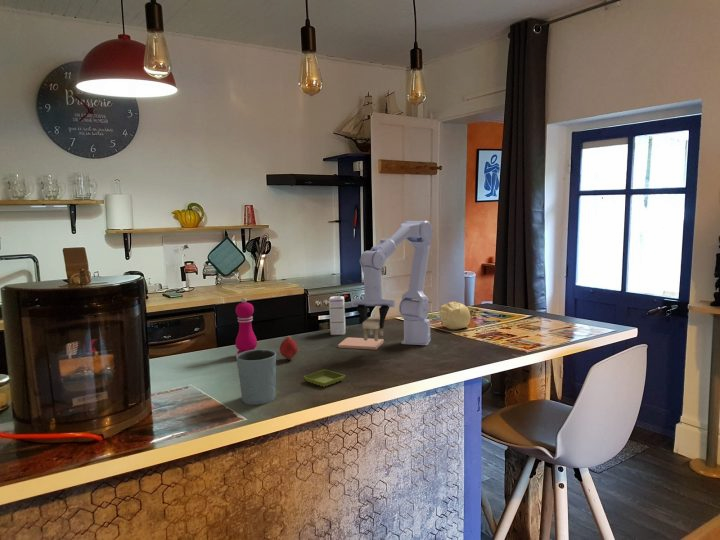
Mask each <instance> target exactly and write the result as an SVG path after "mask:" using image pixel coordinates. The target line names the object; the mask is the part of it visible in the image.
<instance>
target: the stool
mask: <svg viewBox="0 0 720 540" xmlns="http://www.w3.org/2000/svg"><path fill="white" fill-rule="evenodd" d="M362 329H363V338H364V340H368V339H367V338H368V330H369V336H373V335H374V338H373V339H374V341H378V339H379V336H380V337H383V336H384V327H383V328H382V329H381V328H380V316H369V317H367V319H366V320H365V321H364V322H362Z"/></svg>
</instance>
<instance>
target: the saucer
mask: <svg viewBox="0 0 720 540" xmlns="http://www.w3.org/2000/svg"><path fill="white" fill-rule="evenodd" d="M345 377H346V375H345V374H342V373H340V372H335V371H332V370H328V369H321V370H318V371H315V372H312V373H310V374H306V375H304V376H303V378H304V380H306V382H307V383H309V382H310V383H309V384H312V383H313V384H312V385H315V384H316V385H315V386H319V385H320V386H319V387H322V386H323V388H326V387H328V385H329V386H331V384H332V385H333V384H337V383H339V381H340V382H341V381H342V380H343V379H344V378H345ZM336 382H337V383H336ZM325 386H326V387H325Z"/></svg>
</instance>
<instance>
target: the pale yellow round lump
mask: <svg viewBox="0 0 720 540" xmlns="http://www.w3.org/2000/svg"><path fill="white" fill-rule="evenodd" d="M439 316H440V318H441V321H442V322H441V323H442V326H444V327H445V328H447V329H448V330H460V329H463V328H467V327H468V326H469V324H470V323H471V317H472V316H471V312H470V310H469V308H468V306H467V305H465V304H463V303H461V302H456V301H450V302H447V303H444V304H443V305H441V306H440V307H439Z"/></svg>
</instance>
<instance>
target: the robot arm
mask: <svg viewBox="0 0 720 540" xmlns="http://www.w3.org/2000/svg"><path fill="white" fill-rule="evenodd" d="M433 232H434V228H433V226H432V223H430V221H428V220H405V221H403V222H402V223H401V224H400V226H399V228H398V229H397V230H396V231H395V233H393V234H392V235H391V236H390V237H389V238H386V237H385V238H381V239H380V240H379V242H378V243H377V244H376V245H374V246H372V247H371V249H370V250H365V251H364V252H362V253H361V255H360V258H359V260H358V261H359V264H360V266H361V272H363V290H364V291H363V292H364V293H363V296H364V297H363V298H359V299H358V298H356V299H355V298H353V299H351V301H350V302H351V307H355V306H357V307H356V311H357V313H358V314H359V316H360V318H361V319H360V320H361V321H362V323H363V322H364V321H365V320H366V319H368V308H369V307H378V312H379V317H380V327H379V329H380V328H381V329H382V328H383V329H384V325H385V321H386V317H387V314H388V312H389V310H390V308H394V307H396V300H393V299H383V298H382V297H383V295H382V268H384V266H385V263H386V261H387V259H388V258H389V257H390V256H392V255H393V254H394V253H395V252H396V247H397V246H399V245H400V244H401V243H403V242H404V241H405V240H407V241H408V242H409V244H410V245H412V246H413V248H414V252H413V258H412V265H411V271H410V277H409V284H408V290H407V291H406V292H405V293H403V294H402V296H401V301H400V302H399V304H398V305H399V306H398V312H399V314H400V315H401V316H402V318H403V335H404V336H403V340H402V341H401V345H411V346H412V345H413V346H417V345H418V346H419V345H420V346H428V345H429V344H430V342H431V340H432V339H431V320H430V318H426V317H428V314H429V301H430V300H429V298H428V296H427V295H425V293H424V290H425V283H426V275H427V268H428V262H429V255H430V251H431V245H432V244H431V243H432V239H433Z"/></svg>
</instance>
